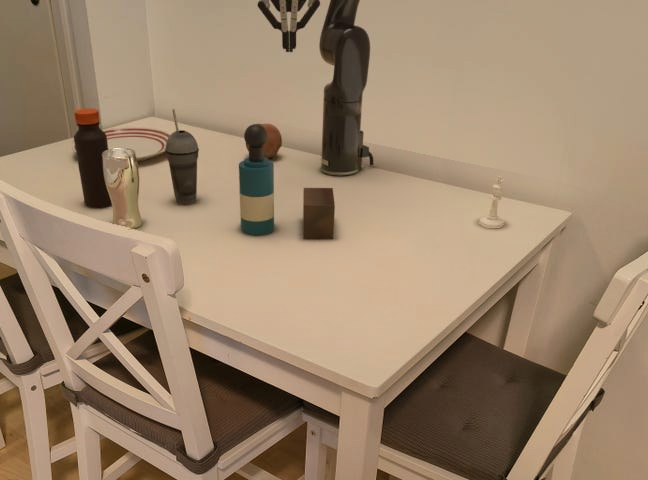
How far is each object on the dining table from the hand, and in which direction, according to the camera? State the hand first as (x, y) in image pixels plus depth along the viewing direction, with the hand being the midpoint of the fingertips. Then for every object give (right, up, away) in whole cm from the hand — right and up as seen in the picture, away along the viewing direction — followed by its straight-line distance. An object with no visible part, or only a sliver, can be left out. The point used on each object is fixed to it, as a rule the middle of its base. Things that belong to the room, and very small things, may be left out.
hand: (289, 51), depth 140 cm
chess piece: (+42, -35, +2) cm, 55 cm away
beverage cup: (-23, -28, +14) cm, 39 cm away
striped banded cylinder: (-1, -35, -1) cm, 35 cm away
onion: (-6, -10, +41) cm, 42 cm away
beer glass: (-34, -35, +3) cm, 49 cm away
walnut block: (+6, -36, 0) cm, 37 cm away
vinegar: (-42, -28, +14) cm, 52 cm away
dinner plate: (-43, -8, +45) cm, 63 cm away
